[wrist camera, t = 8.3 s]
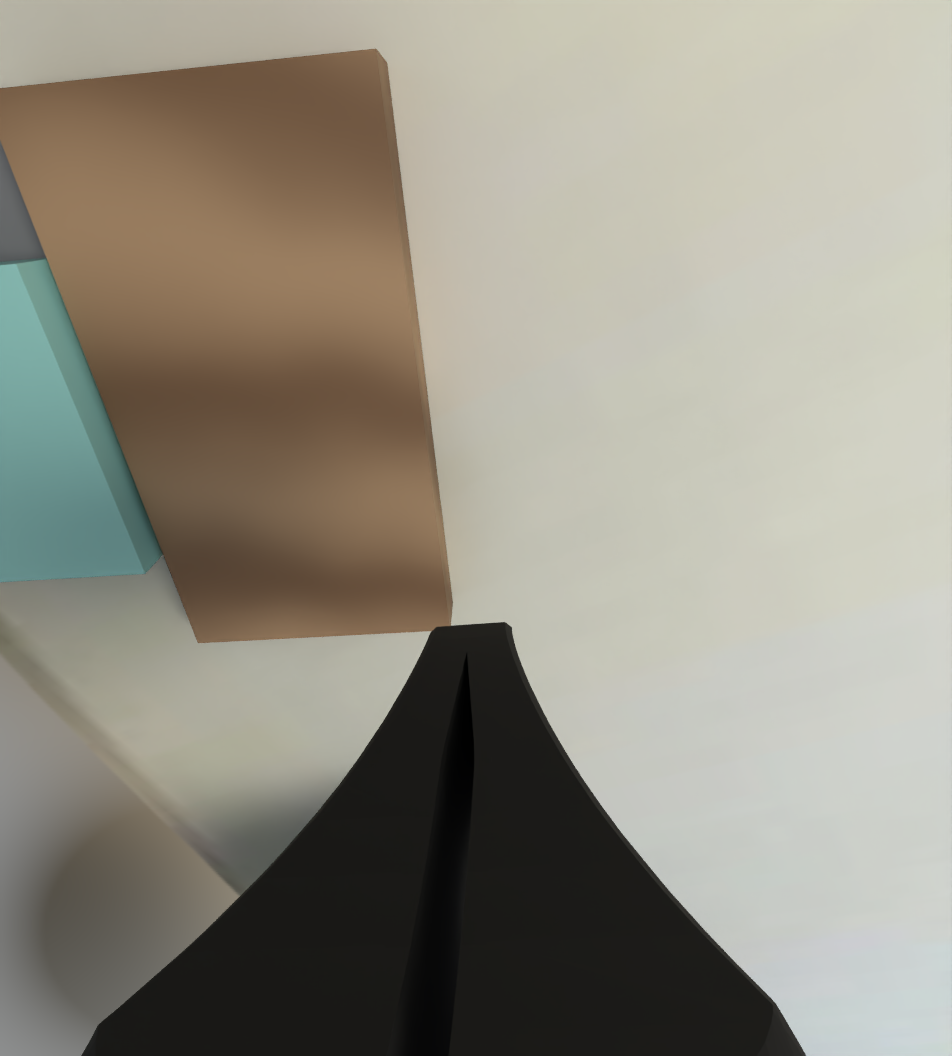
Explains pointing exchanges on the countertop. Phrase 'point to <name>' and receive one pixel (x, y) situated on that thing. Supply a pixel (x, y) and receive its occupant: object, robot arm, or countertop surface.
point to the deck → (250, 331)
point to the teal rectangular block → (59, 447)
